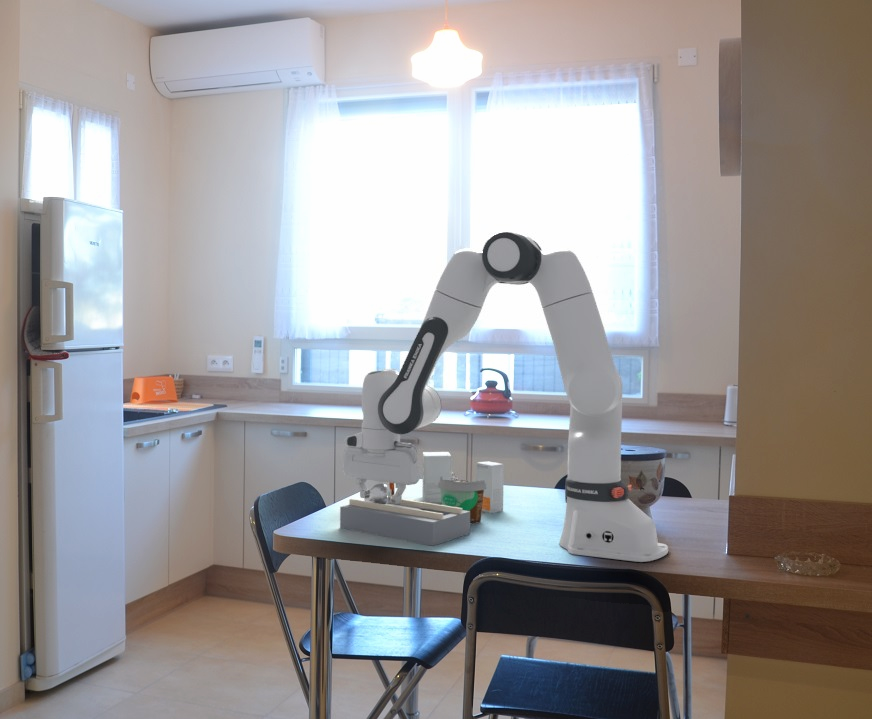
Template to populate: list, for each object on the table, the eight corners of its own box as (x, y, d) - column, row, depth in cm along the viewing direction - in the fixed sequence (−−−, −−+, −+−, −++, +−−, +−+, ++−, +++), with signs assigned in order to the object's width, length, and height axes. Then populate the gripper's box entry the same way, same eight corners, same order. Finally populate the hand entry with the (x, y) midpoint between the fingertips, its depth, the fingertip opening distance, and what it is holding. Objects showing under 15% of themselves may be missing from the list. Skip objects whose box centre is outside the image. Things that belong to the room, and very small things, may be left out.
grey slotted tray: (470, 533, 193) (470, 505, 193) (432, 546, 182) (433, 516, 181) (379, 518, 208) (379, 492, 208) (340, 528, 197) (340, 501, 197)
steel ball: (395, 504, 199) (395, 483, 199) (381, 508, 195) (382, 486, 195) (379, 502, 202) (379, 480, 202) (365, 505, 198) (365, 483, 198)
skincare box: (475, 509, 219) (475, 462, 219) (488, 507, 222) (488, 460, 222) (491, 513, 214) (491, 465, 214) (504, 511, 217) (504, 463, 217)
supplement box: (449, 498, 234) (449, 451, 234) (451, 503, 227) (451, 455, 226) (422, 498, 234) (422, 451, 233) (423, 503, 226) (423, 455, 226)
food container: (427, 521, 205) (428, 479, 204) (439, 516, 210) (440, 475, 210) (475, 527, 199) (475, 484, 199) (486, 522, 204) (486, 480, 204)
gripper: (425, 442, 195) (425, 503, 195) (356, 435, 207) (356, 493, 207) (408, 445, 190) (408, 508, 190) (338, 437, 202) (338, 497, 202)
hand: (380, 500), depth 199 cm, fingers open, 8 cm apart
